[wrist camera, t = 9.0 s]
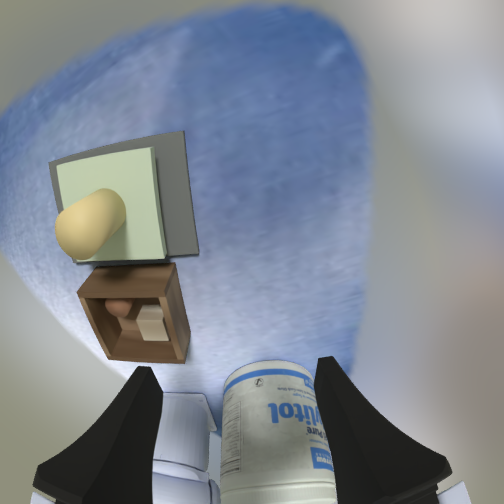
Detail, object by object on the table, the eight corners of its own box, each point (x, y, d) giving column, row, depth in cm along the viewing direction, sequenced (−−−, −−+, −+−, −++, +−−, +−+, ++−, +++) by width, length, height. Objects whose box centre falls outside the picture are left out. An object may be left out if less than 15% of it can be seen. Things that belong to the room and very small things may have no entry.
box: (191, 330, 23) (185, 363, 20) (121, 329, 23) (108, 359, 19) (176, 260, 20) (164, 290, 16) (98, 265, 20) (76, 292, 16)
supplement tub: (327, 361, 26) (365, 491, 13) (290, 408, 30) (307, 513, 16) (235, 347, 24) (238, 504, 11) (213, 399, 28) (210, 516, 15)
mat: (199, 251, 19) (198, 253, 19) (75, 260, 19) (73, 263, 19) (184, 130, 16) (183, 130, 15) (51, 161, 15) (48, 162, 15)
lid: (169, 248, 19) (147, 293, 14) (86, 251, 19) (50, 290, 14) (157, 145, 16) (123, 156, 11) (68, 161, 15) (19, 179, 10)
